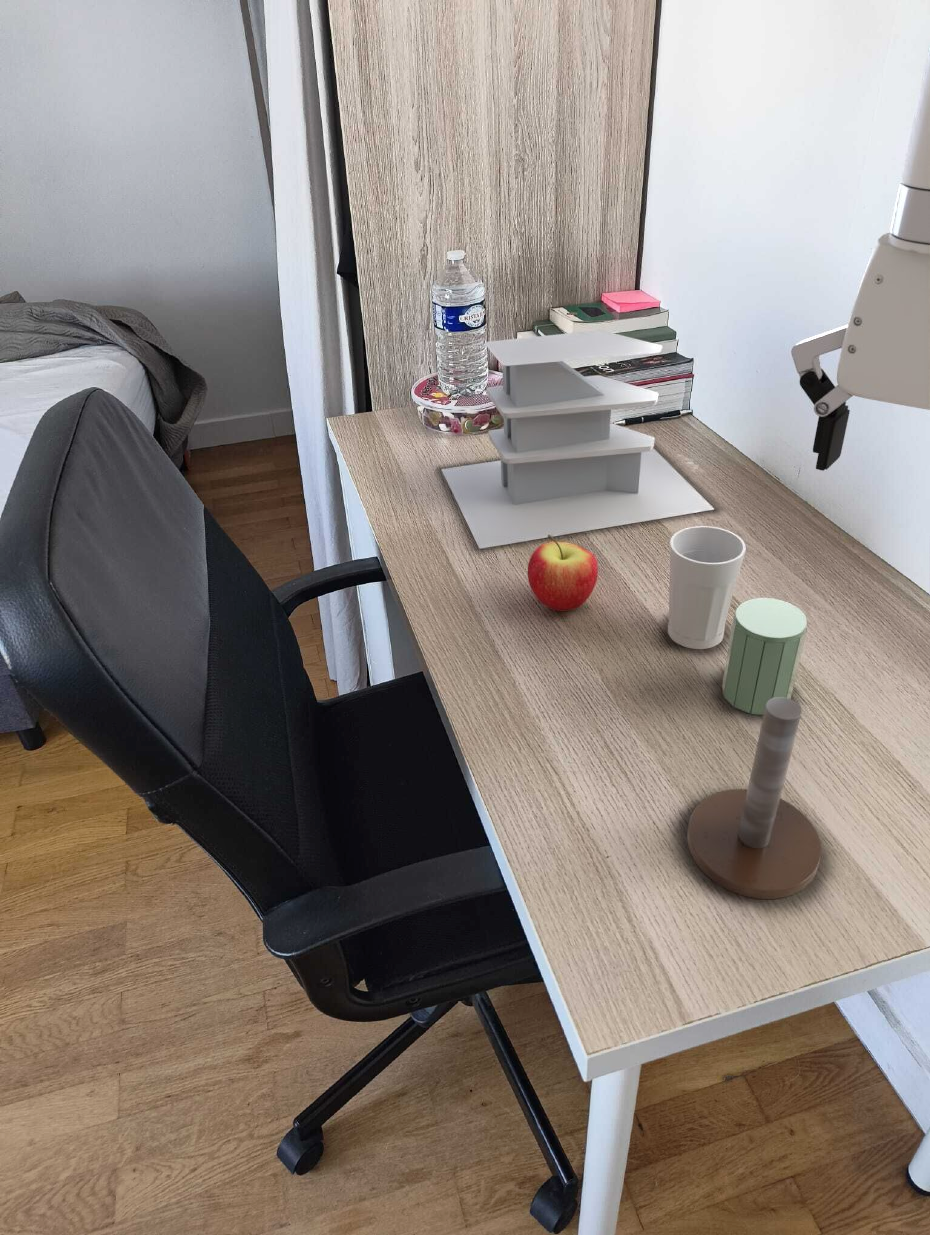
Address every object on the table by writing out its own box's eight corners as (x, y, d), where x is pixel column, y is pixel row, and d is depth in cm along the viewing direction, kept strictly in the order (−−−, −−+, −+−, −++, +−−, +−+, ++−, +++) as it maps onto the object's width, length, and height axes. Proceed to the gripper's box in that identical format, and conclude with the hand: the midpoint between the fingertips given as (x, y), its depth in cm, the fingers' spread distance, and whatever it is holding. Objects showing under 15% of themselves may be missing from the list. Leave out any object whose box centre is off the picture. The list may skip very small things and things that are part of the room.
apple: (524, 587, 108) (523, 518, 102) (589, 582, 108) (592, 513, 102) (532, 625, 101) (531, 554, 95) (602, 620, 101) (606, 549, 95)
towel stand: (838, 835, 74) (882, 697, 64) (788, 923, 67) (829, 783, 58) (721, 779, 80) (745, 645, 70) (664, 855, 73) (683, 718, 64)
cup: (738, 652, 95) (754, 562, 88) (666, 654, 95) (677, 565, 88) (722, 611, 101) (735, 524, 94) (655, 613, 102) (664, 527, 95)
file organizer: (441, 469, 136) (430, 334, 123) (643, 438, 142) (654, 306, 129) (479, 548, 116) (472, 397, 103) (714, 509, 121) (735, 360, 108)
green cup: (799, 688, 90) (818, 612, 84) (773, 723, 85) (791, 646, 80) (739, 664, 93) (752, 590, 87) (711, 697, 89) (723, 622, 83)
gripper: (1147, 215, 48) (1046, 488, 57) (838, 199, 57) (796, 436, 67) (1126, 241, 43) (1020, 533, 53) (794, 219, 53) (756, 470, 62)
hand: (895, 479), depth 60 cm, fingers open, 9 cm apart
